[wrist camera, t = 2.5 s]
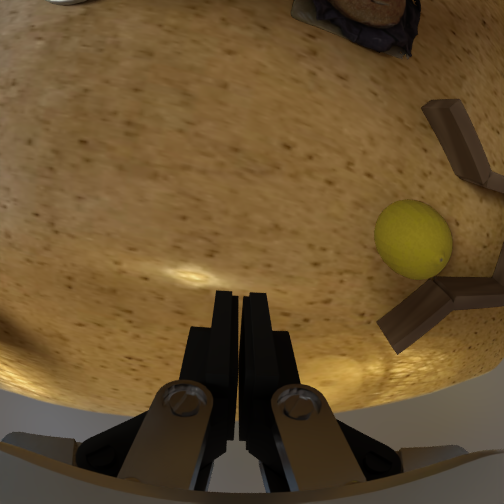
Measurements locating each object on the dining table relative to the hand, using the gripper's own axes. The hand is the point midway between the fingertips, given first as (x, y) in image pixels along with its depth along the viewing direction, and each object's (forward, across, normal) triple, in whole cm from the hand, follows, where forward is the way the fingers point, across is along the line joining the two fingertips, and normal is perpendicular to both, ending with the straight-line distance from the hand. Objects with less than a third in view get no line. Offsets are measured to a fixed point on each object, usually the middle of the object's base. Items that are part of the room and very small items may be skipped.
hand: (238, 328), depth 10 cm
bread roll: (+14, -8, -19) cm, 25 cm away
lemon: (+14, -12, -1) cm, 19 cm away
